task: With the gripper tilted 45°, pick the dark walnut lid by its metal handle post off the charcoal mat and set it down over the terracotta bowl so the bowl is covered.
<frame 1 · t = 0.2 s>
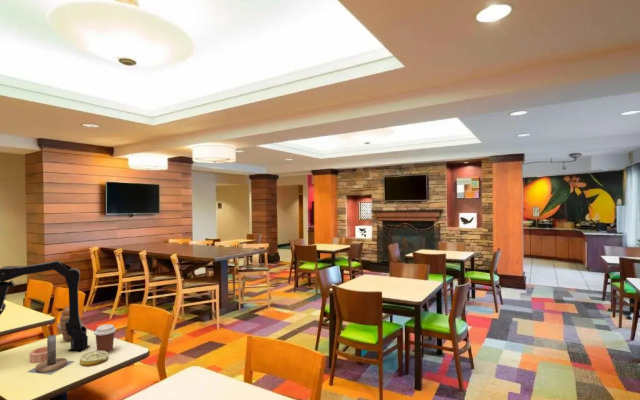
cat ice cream: (68, 341, 183), on the table
mat: (51, 367, 155), on the table
bowl: (42, 359, 162), on the table
decorated donut: (94, 362, 160), on the table
lid: (51, 366, 155), resting on mat
coffee cup: (105, 352, 171), on the table
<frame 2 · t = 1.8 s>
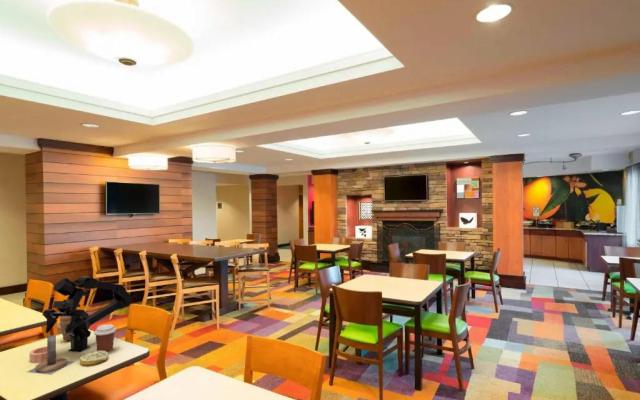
hand: (56, 332, 159), 13 cm above the table, tool tilted 40°, fingers open, 9 cm apart
nothing on the table moved.
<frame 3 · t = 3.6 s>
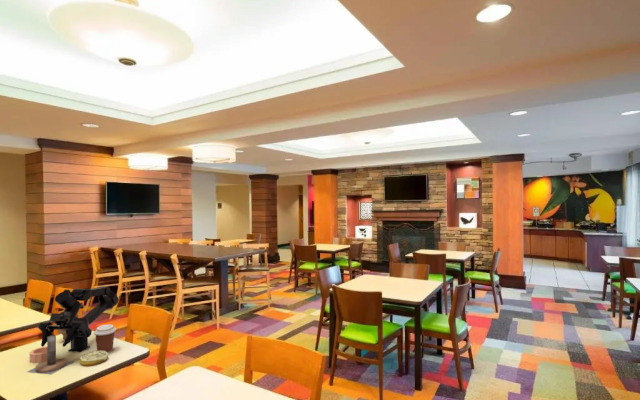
hand: (52, 346, 155), 9 cm above the table, tool tilted 45°, fingers open, 9 cm apart
nothing on the table moved.
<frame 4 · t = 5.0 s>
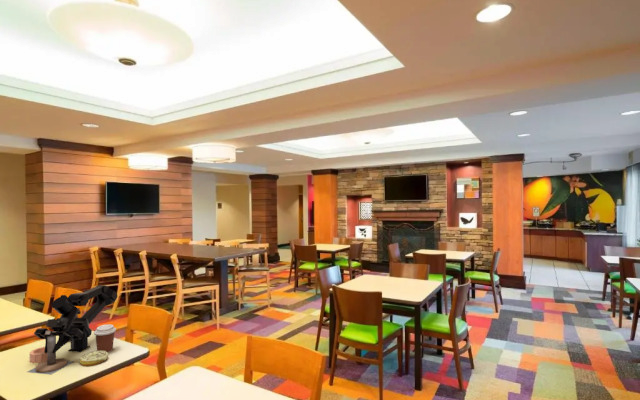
hand: (49, 352, 153), 7 cm above the table, tool tilted 45°, fingers closed on lid, 3 cm apart
lid: (51, 366, 155), resting on mat, touching gripper
everything else where it was.
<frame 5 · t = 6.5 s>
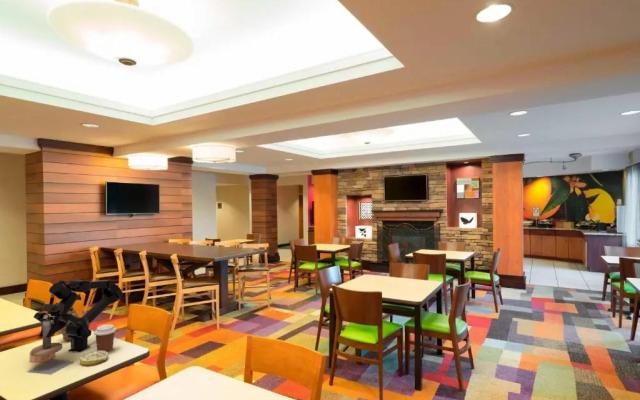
hand: (43, 337, 154), 13 cm above the table, tool tilted 45°, fingers closed on lid, 3 cm apart
lid: (46, 350, 156), point 7 cm above the table, touching gripper
everything else where it was.
when the fingers open (12 cm above the table, at t = 8.3 s): lid drops 1 cm, resting on bowl.
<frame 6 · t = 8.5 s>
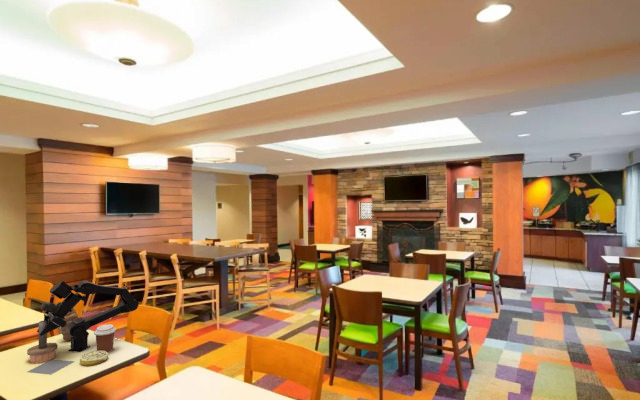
hand: (38, 333, 161), 12 cm above the table, tool tilted 45°, fingers open, 5 cm apart
lid: (42, 350, 162), point 4 cm above the table, touching bowl
everything else where it was.
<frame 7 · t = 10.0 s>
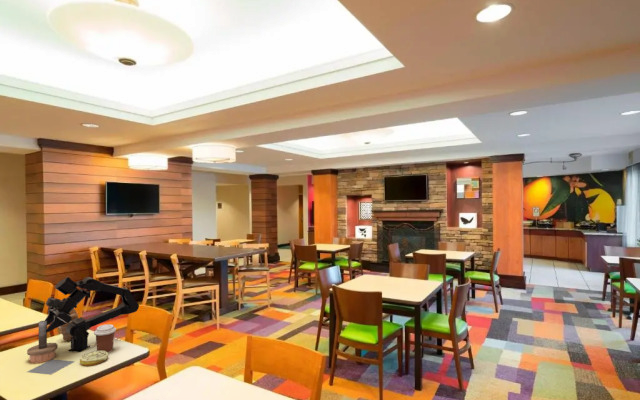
hand: (44, 329, 163), 14 cm above the table, tool tilted 45°, fingers open, 9 cm apart
nothing on the table moved.
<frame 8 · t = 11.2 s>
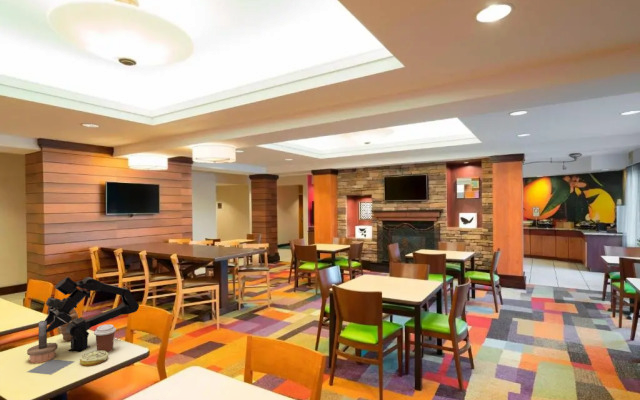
hand: (44, 329, 163), 14 cm above the table, tool tilted 45°, fingers open, 9 cm apart
nothing on the table moved.
at the end: lid 0.0 cm off-centre on the bowl, point 4.0 cm above the bowl's base; lid tilted 0°; the gripper is holding nothing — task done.
